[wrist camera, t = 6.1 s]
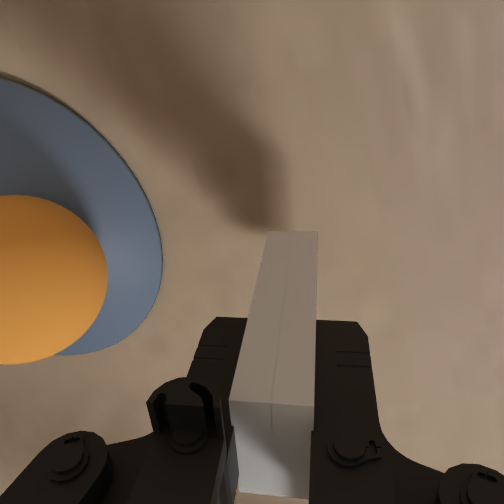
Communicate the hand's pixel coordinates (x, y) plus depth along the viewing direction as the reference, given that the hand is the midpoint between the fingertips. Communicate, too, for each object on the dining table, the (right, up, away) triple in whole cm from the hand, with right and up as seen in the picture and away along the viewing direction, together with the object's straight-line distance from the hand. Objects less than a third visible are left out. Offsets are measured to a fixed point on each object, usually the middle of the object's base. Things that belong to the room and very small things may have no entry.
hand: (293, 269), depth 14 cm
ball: (-9, 0, +1) cm, 9 cm away
